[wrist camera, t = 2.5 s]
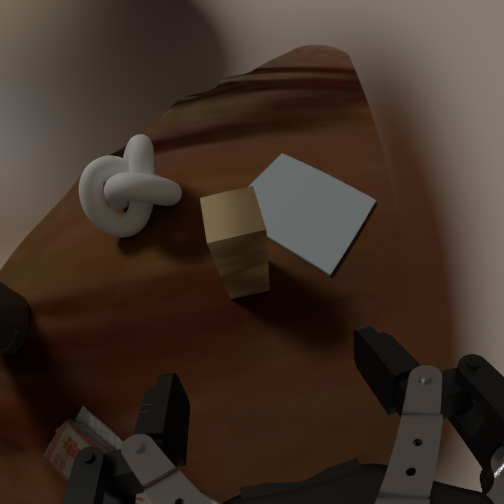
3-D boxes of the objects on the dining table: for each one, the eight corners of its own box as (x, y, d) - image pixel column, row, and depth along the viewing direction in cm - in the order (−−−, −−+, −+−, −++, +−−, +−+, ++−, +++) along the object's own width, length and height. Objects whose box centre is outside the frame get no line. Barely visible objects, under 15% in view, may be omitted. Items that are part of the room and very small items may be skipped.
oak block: (230, 299, 28) (206, 243, 19) (223, 264, 30) (200, 198, 21) (269, 290, 29) (266, 229, 19) (260, 255, 30) (252, 185, 21)
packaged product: (32, 464, 16) (61, 402, 20) (58, 462, 20) (88, 405, 24) (172, 577, 10) (222, 522, 14) (186, 558, 15) (230, 504, 19)
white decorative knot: (122, 268, 31) (83, 227, 23) (91, 212, 36) (60, 170, 28) (197, 211, 34) (178, 157, 26) (153, 166, 39) (133, 119, 31)
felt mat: (225, 213, 34) (224, 210, 33) (282, 155, 38) (282, 153, 37) (329, 276, 29) (330, 274, 28) (375, 202, 33) (375, 200, 32)
